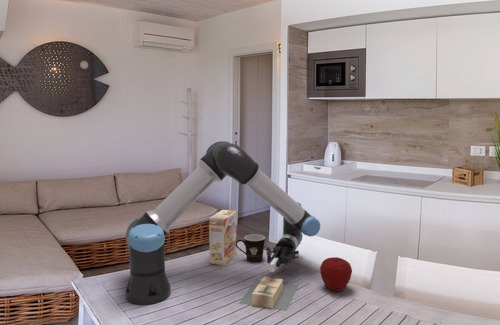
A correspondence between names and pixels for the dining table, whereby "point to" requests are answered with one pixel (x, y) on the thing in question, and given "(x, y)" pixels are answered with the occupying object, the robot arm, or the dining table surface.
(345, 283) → the apple
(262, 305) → the letter block
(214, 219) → the coffeecake box
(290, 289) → the mat
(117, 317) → the dining table surface
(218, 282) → the dining table surface
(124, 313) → the dining table surface
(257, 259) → the coffee mug
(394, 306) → the dining table surface
